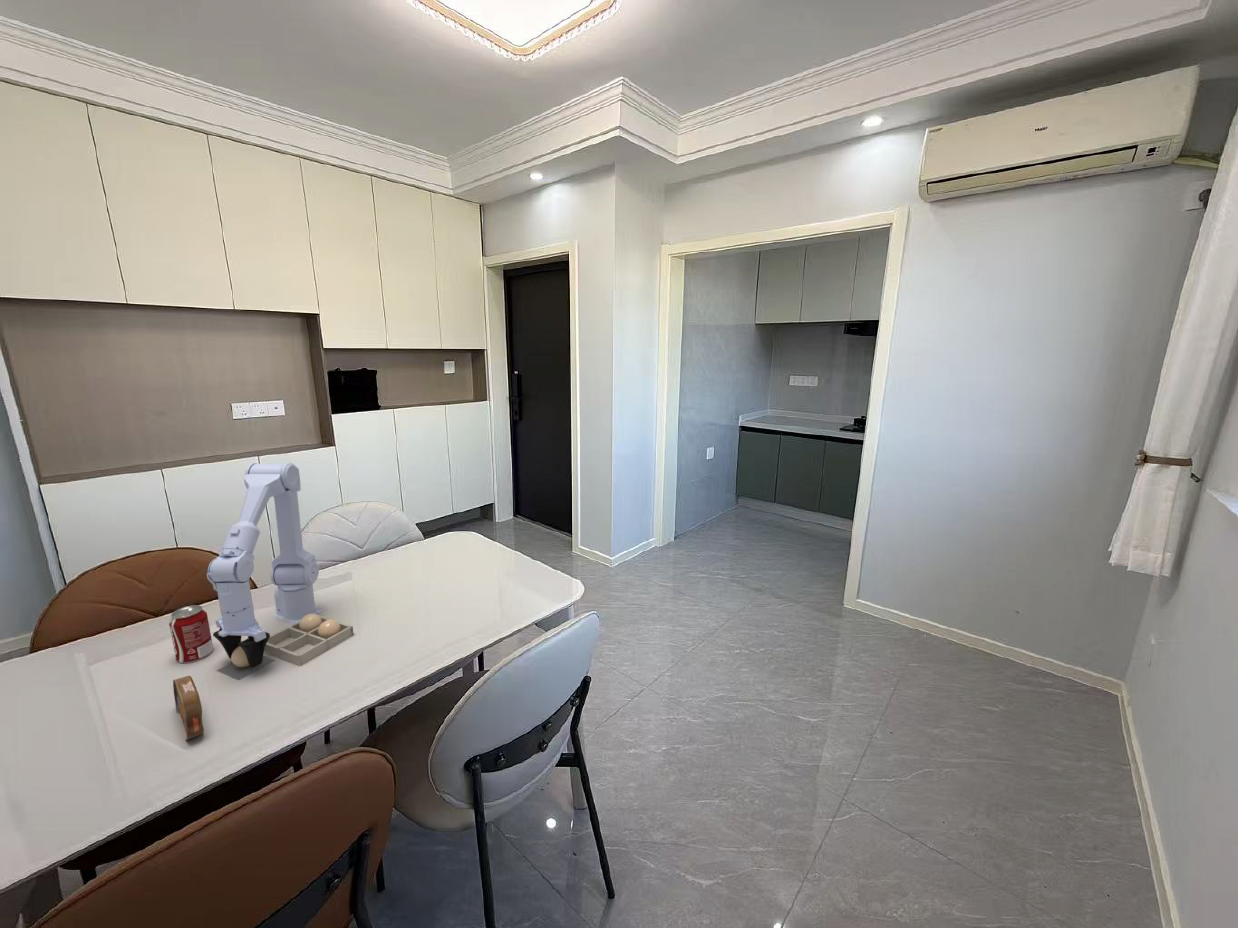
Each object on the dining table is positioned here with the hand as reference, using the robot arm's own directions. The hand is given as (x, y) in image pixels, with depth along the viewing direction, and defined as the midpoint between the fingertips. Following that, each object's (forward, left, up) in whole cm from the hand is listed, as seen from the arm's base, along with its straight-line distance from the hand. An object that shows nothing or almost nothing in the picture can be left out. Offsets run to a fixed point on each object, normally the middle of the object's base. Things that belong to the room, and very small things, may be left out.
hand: (245, 660), depth 114 cm
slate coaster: (0, 0, -2) cm, 2 cm away
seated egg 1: (+1, +15, -1) cm, 15 cm away
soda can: (-15, -2, -2) cm, 15 cm away
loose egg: (0, 0, -1) cm, 1 cm away
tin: (+9, -15, -2) cm, 18 cm away
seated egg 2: (+7, +15, -1) cm, 17 cm away
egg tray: (+4, +12, -2) cm, 13 cm away
